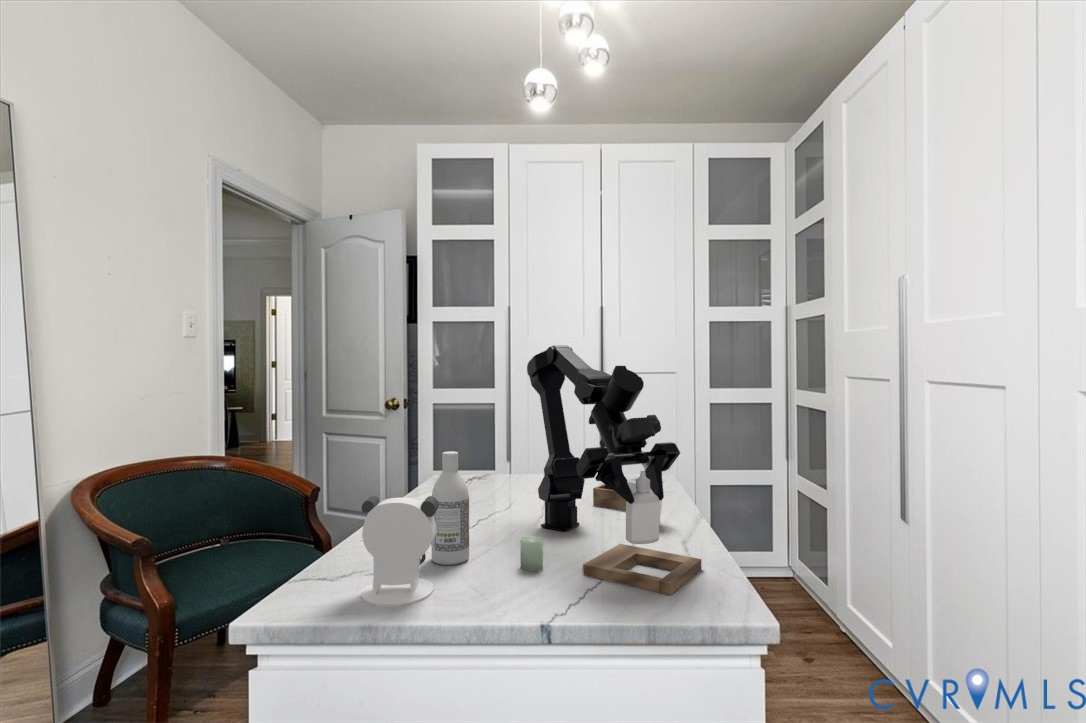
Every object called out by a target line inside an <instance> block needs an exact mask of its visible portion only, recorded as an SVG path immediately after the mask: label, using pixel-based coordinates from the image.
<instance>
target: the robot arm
mask: <svg viewBox="0 0 1086 723" xmlns="http://www.w3.org/2000/svg"><path fill="white" fill-rule="evenodd" d="M526 373H527V376H528V377H529V379H530V385H531V387H532V388H533V389H534V390H535V391H536V393H537V394H538V395H539V398H540V399H539V400H540V404H541V410H542V411H541V412H542V418H543V426H544V431H545V438H546V445H547V451H548V458H547V461H546V464H545V466H544V468H543V478H542V480H541V482H540V484H539V486H538V488H537V492H538V498H539V500H542V501H543V502H544V523H542V524H540V527H541V528H545V529H550V530H555V531H561V532H566V531H569V530H571V529H573V528H576V527H578V526H580V522H578V506H577V504H576V501H577V500H582V497H583V492H584V485H585V481H586V479H595V481H596V482H601V483H602V484H605V485H607V486H608V487H610V488H611V489H613V490H614V491H615V492H616V493H618V494H619V495H620V496H621V497H622V498H624V499H625V500H626V501H627V502H628V503H629V504H633V502H634V498H633V495H632V492H631V489H630V487H629V485H628V483H627V481H626V479H627V477H626V476H625V474H624V472H623V466H632V465H633V466H634V465H641V466H642V467H643V468H644V471H645V474H646V477H647V478H648V479H650V488H651V490H652V491H653V493H654V494H655V495H656V496H657V497H658V498H659V500H660V501H661V500H662V501H663V500H664V497H665V496H664V494H665V493H664V485H663V483H664V482H663V483H662V481H663V472H667V471H668V470H670V468H671V467H672V466H673V464H674V463H675V461H677V458H678V457H679V456H680V454H681V451H680V450H679V448H678V446H677V444H676V443H675V442H671V441H669V442H656V443H654V445H653V446H652V448H651V450H650V451H643V448H645V447H646V446H647V444H648V442H647V441H646V440H648V439H649V438H651V437H656V435H657V434H658V433H659V432H661V430H662V425H661V422H660V420H659V418H658V416H657V415H656V414H648V415H646V417H633V418H632V417H631V418H627V417H626V414H625V413H626V412H628V411H630V410H631V409H632V408H633V406H634V404H635V402H636V400H637V399H638V397H639V396H640V394H641V392H642V390H643V389H644V380H643V378H642V377H641V376H639V374H637V373H636V372H634V371H632V370H630V369H627V367H626V365H615V366H614V368H613V370H612V373H611V374H609V373H607V372H605V371H601V370H597V369H594V368H592V367H591V366H590V365H589V364H587V362H586V361H584V360H583V359H582V358H581V357H580V356H579V355H577V354H576V353H575V352H574V350H573V348H572V347H571V346H569V345H551V346H549V347H548V348H547V349H546V350H544V351H541V352H539V353H537V354H535V355H533V357H532V358H531V359H529V361H528V362H527V366H526ZM566 378H567V379H568V380H569V382H571V383H572V384H573V385H574V391H573V393H574V395H575V397H576V398H577V399H578V401H579V403H581V405H584V406H585V405H593V408H592V410H591V411H590V416H589V417H588V424H589V425H595V426H596V429H597V430H598V433H599V435H600V437H601V439H600V441H599V446H600V447H599V446H598V447H586V448H585V449H584V451H583V452H582V454H581V456H580V457H578V456H577V457H575V456H574V454H573V453H572V452H571V449H570V448H571V447H570V442H569V441H570V440H569V436H568V429H567V425H566V424H567V423H566V418H565V411H564V405H563V400H562V399H563V398H562V395H561V389H562V387H563V385H564V382H565V381H566ZM625 477H626V478H625Z"/></svg>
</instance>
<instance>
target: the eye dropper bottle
mask: <svg viewBox="0 0 1086 723" xmlns="http://www.w3.org/2000/svg"><path fill="white" fill-rule="evenodd" d="M649 491H650V479H648V478H647V477H646V474H645V470H641V471H640V474H639V478H637V479H636V492H635V493H632V495H633V498H634V502H633V504H629V503H628V502H627V501H626V511H625V540H626V541H627V542H628V543H630V544H632V545H649V544H654V543H657V542H658V541H659V540H660V526H659V498H658V497H657V496H656V495H655V494H653V493H650V492H649Z"/></svg>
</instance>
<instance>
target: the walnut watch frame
mask: <svg viewBox="0 0 1086 723" xmlns="http://www.w3.org/2000/svg"><path fill="white" fill-rule="evenodd" d="M592 495H593V496H592V500H593V501H592V503H593V507H598V506H600V507H599V508H604V507H606V508H605V509H611V508H612V509H613V510H617V509H619V511H624V510H625V511H624V512H626V500H625V499H624V498H622V497H621V496H620V495H619V494H618V493H616V492H615V491H614V490H609V489H606V485H605V484H604V483H602V484H601V485H599V486H596V487H593V490H592ZM612 509H611V510H612Z"/></svg>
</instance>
